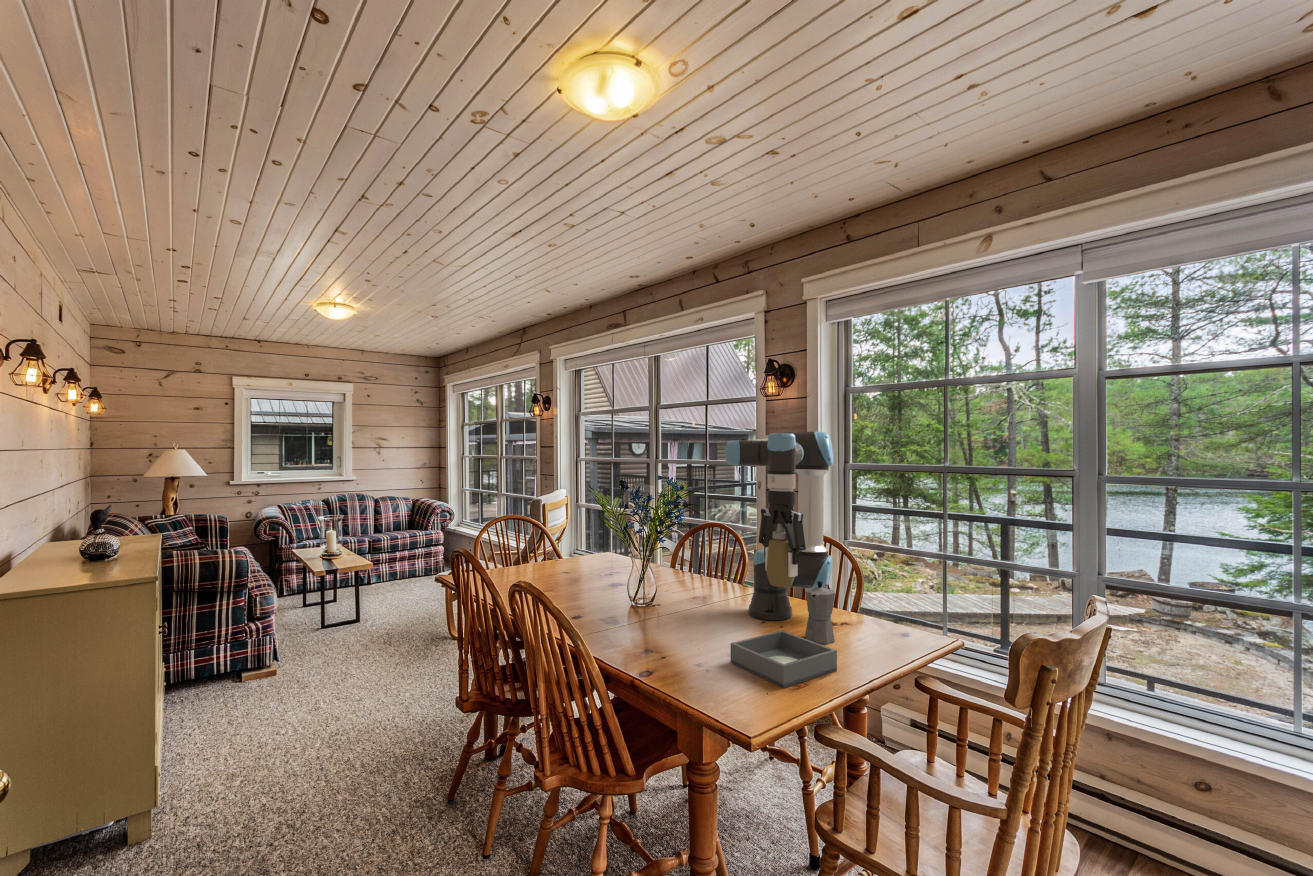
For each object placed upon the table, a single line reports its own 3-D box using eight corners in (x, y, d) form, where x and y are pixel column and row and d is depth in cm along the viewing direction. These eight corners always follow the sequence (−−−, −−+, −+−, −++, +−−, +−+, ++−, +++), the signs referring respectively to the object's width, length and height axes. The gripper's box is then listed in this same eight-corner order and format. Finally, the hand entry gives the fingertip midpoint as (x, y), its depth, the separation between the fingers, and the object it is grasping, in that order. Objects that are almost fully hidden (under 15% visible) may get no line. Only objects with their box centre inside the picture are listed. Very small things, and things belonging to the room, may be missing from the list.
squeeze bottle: (793, 589, 156) (794, 521, 156) (763, 587, 159) (763, 520, 159) (797, 583, 164) (798, 518, 164) (768, 580, 166) (768, 516, 167)
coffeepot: (828, 648, 175) (828, 587, 175) (797, 642, 180) (797, 583, 180) (843, 634, 188) (843, 577, 188) (814, 629, 193) (814, 574, 193)
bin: (781, 649, 175) (782, 630, 175) (836, 671, 158) (836, 650, 158) (730, 663, 164) (730, 643, 164) (783, 688, 147) (783, 666, 147)
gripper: (745, 487, 168) (745, 567, 168) (800, 493, 151) (800, 582, 150) (764, 486, 172) (764, 565, 172) (820, 491, 155) (820, 579, 155)
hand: (781, 573), depth 161 cm, fingers closed on squeeze bottle, 8 cm apart
